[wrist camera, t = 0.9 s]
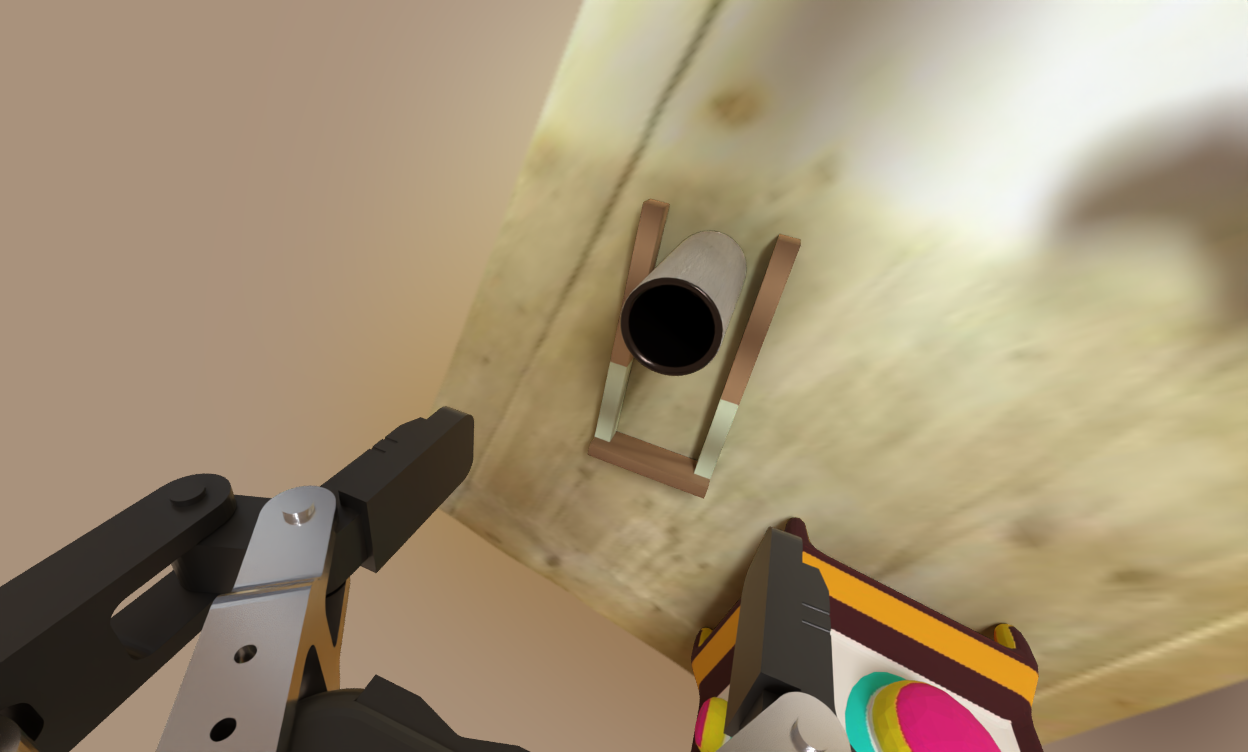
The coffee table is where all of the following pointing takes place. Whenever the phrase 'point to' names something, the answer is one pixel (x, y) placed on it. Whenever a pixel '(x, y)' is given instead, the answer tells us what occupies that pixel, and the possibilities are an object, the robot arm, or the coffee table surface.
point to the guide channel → (698, 473)
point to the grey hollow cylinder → (685, 305)
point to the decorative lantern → (894, 672)
